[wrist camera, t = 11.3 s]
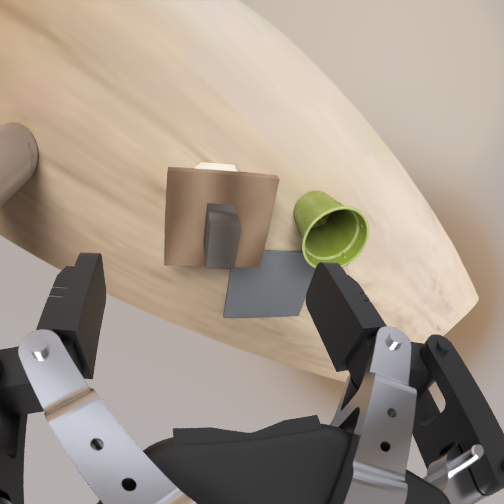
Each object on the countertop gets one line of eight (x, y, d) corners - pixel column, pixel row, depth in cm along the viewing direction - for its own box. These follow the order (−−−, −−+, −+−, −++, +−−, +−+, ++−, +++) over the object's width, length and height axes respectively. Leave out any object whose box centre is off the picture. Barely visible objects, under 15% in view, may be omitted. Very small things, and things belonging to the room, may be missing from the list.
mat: (223, 315, 54) (223, 317, 53) (233, 249, 46) (234, 250, 46) (297, 314, 57) (298, 315, 57) (319, 252, 50) (320, 253, 49)
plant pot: (346, 179, 43) (376, 206, 36) (336, 234, 48) (361, 267, 41) (285, 180, 41) (307, 208, 34) (280, 238, 47) (298, 274, 40)
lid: (164, 259, 38) (162, 292, 33) (168, 167, 31) (164, 189, 26) (257, 262, 41) (268, 293, 36) (276, 175, 34) (293, 198, 29)
